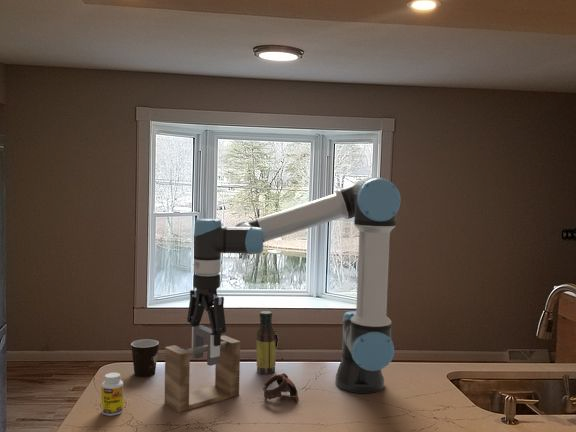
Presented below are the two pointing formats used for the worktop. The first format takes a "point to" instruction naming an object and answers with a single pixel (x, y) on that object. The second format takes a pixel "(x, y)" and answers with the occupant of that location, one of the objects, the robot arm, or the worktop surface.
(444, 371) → the worktop surface
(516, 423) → the worktop surface
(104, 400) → the supplement bottle
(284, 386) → the brown looped piece
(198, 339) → the u piece
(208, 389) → the rack
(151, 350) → the coffee mug
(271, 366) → the sauce bottle
